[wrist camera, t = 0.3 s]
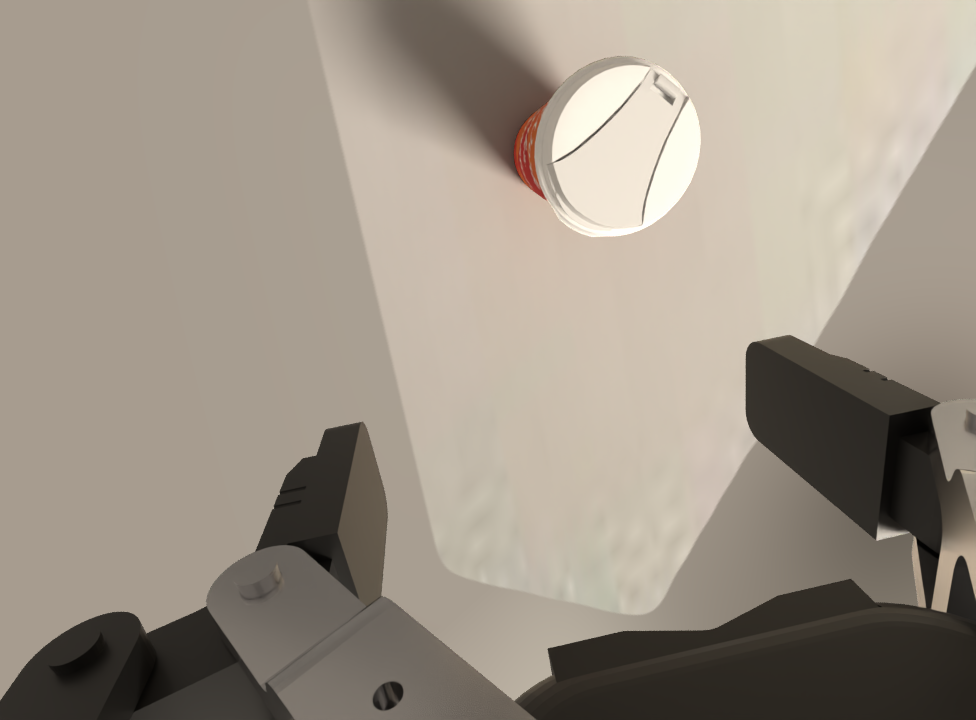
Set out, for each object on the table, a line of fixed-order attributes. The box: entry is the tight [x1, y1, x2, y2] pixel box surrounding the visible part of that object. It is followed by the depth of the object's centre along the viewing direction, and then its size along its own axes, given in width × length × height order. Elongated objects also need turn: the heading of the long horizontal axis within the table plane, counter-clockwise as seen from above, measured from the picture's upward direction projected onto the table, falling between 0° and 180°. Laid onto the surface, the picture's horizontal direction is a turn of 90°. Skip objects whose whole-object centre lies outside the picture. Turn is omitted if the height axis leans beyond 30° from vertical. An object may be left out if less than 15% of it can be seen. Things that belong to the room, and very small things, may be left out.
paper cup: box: [514, 56, 700, 237], centre depth 31 cm, size 8×8×14 cm
